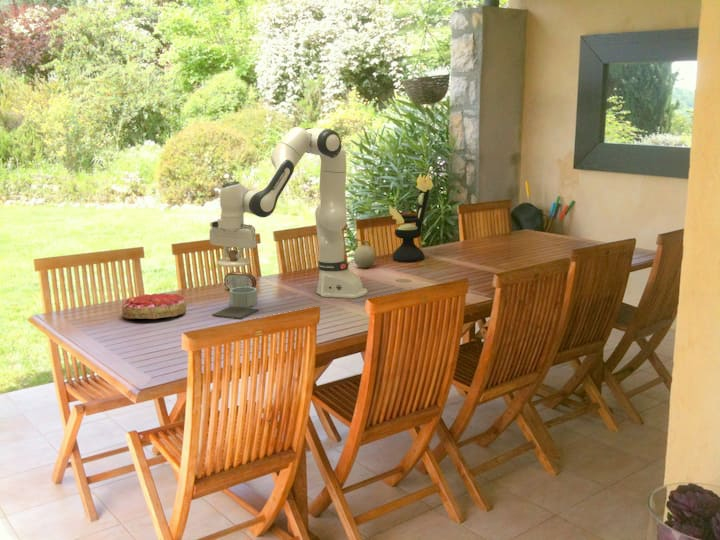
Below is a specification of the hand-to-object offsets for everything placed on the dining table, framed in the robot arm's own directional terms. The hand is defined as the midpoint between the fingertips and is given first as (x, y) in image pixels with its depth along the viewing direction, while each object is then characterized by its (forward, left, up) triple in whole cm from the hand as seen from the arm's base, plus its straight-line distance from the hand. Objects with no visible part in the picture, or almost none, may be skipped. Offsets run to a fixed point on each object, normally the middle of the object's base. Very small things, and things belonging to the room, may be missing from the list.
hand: (233, 257), depth 309 cm
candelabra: (-31, -120, -22) cm, 126 cm away
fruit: (-16, -93, -22) cm, 97 cm away
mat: (-2, +3, -22) cm, 22 cm away
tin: (+17, -30, -22) cm, 41 cm away
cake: (+28, +16, -22) cm, 39 cm away
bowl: (+3, -11, -22) cm, 25 cm away
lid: (0, 0, -2) cm, 2 cm away
